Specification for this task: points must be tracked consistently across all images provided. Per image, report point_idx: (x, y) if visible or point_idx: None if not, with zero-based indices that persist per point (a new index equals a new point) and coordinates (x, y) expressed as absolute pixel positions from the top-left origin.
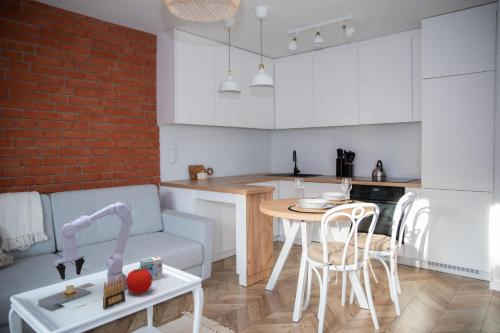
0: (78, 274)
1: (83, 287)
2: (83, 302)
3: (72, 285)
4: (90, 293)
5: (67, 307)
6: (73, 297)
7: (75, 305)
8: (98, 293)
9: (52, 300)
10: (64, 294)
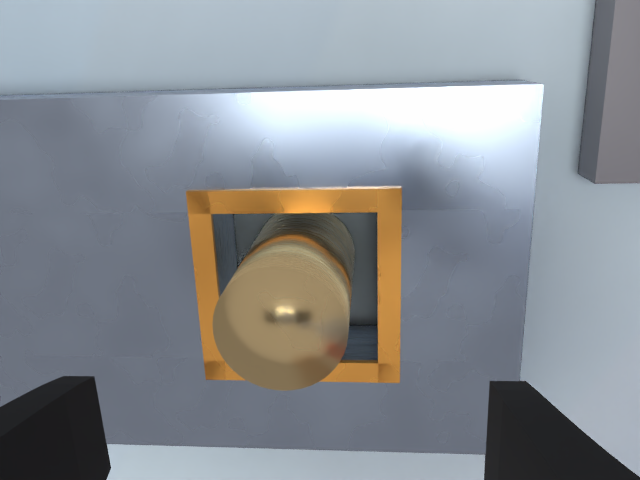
0: (488, 466)
1: (625, 114)
2: (336, 477)
3: (337, 319)
4: None
5: (163, 450)
6: (253, 439)
7: (241, 474)
8: (617, 396)
9: (31, 305)
10: (243, 209)
